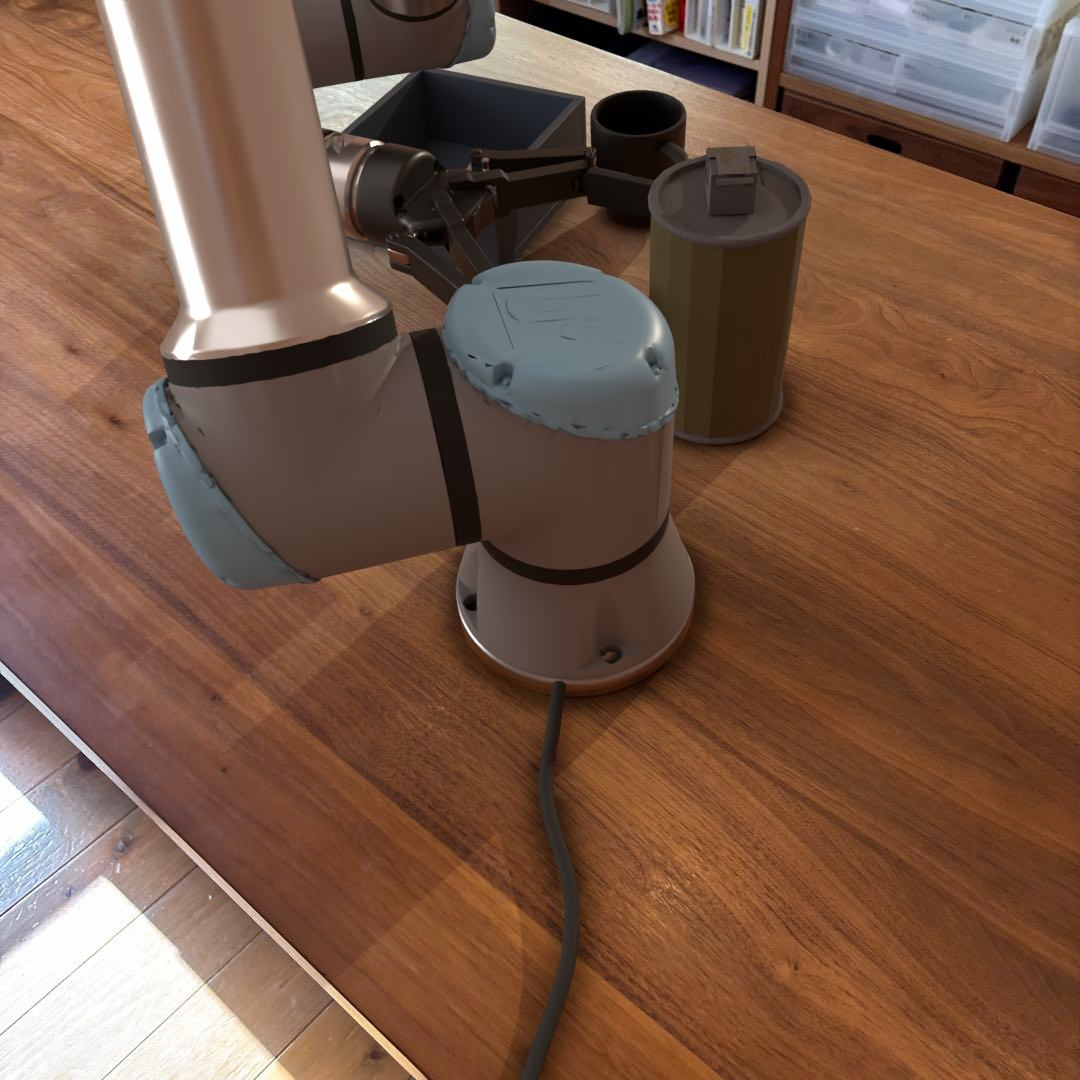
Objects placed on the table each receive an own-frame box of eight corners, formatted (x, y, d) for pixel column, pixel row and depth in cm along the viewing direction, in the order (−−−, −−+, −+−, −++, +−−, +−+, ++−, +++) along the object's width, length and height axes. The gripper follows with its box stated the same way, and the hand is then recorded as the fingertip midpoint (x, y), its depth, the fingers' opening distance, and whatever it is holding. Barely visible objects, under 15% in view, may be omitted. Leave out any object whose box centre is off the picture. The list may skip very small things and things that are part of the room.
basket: (500, 278, 96) (492, 195, 90) (332, 234, 102) (314, 154, 96) (587, 176, 106) (585, 96, 100) (429, 142, 112) (418, 64, 106)
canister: (790, 444, 81) (829, 199, 66) (646, 448, 81) (652, 206, 66) (773, 349, 88) (804, 108, 73) (641, 353, 88) (644, 115, 73)
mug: (638, 268, 96) (639, 167, 89) (577, 201, 103) (573, 104, 96) (720, 240, 98) (728, 140, 91) (654, 177, 105) (657, 80, 98)
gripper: (272, 236, 76) (551, 309, 68) (452, 72, 90) (699, 119, 83) (296, 325, 81) (557, 401, 74) (462, 157, 95) (694, 208, 88)
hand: (632, 252), depth 78 cm, fingers open, 13 cm apart
